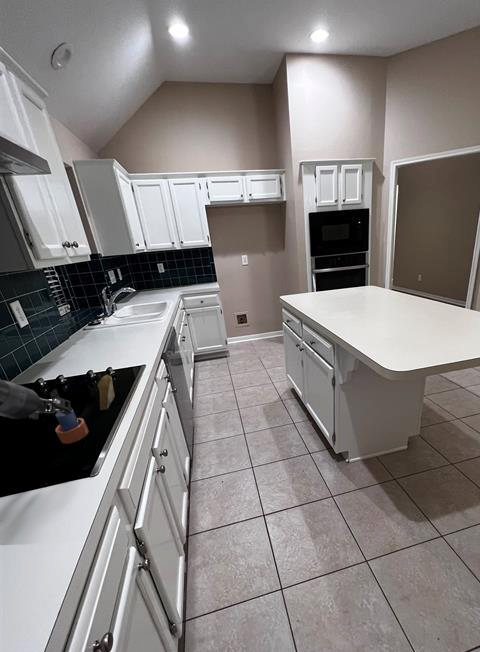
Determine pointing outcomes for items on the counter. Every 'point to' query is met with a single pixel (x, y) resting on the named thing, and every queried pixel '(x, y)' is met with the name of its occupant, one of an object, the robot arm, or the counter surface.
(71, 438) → the ring
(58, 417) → the blue cylinder
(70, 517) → the counter surface
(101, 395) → the rock
